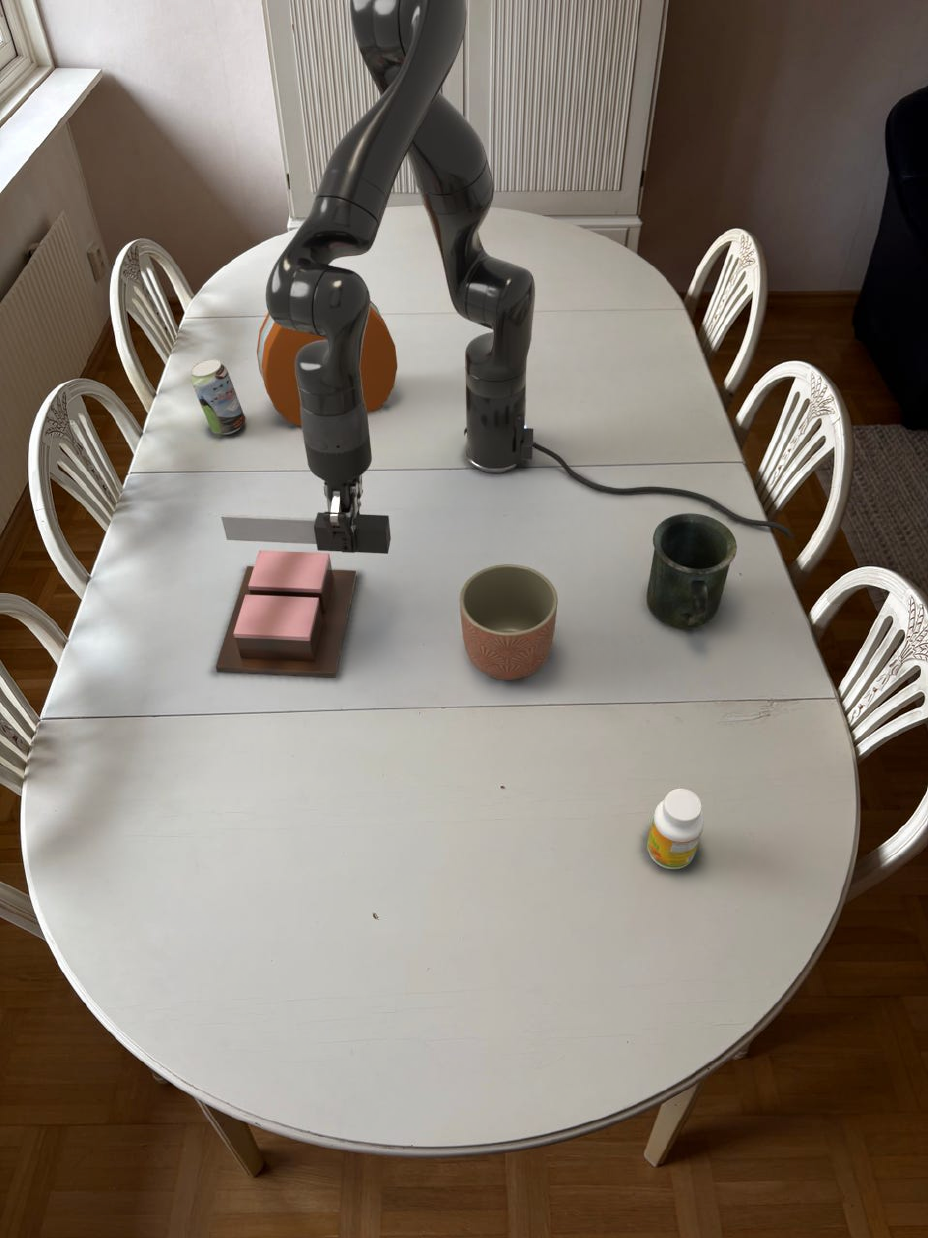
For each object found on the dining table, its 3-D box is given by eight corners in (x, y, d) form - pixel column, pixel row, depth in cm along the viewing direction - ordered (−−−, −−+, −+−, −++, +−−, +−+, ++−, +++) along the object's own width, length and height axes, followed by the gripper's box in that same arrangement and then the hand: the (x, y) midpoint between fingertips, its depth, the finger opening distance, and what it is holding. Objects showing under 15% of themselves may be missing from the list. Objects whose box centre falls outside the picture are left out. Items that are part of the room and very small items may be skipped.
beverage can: (239, 441, 166) (225, 379, 157) (198, 436, 167) (181, 375, 158) (252, 418, 170) (239, 357, 161) (211, 413, 171) (196, 353, 162)
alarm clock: (386, 374, 178) (375, 254, 161) (401, 405, 172) (392, 284, 155) (264, 399, 174) (240, 279, 157) (275, 432, 167) (251, 310, 151)
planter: (447, 636, 136) (444, 580, 128) (529, 608, 139) (531, 552, 131) (484, 702, 129) (483, 647, 120) (569, 671, 132) (575, 616, 124)
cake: (356, 575, 144) (352, 545, 140) (335, 677, 132) (329, 648, 127) (248, 570, 146) (240, 540, 141) (216, 671, 133) (207, 642, 128)
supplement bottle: (642, 830, 116) (652, 784, 108) (688, 826, 116) (701, 780, 109) (652, 872, 112) (663, 828, 105) (699, 868, 112) (714, 824, 105)
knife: (390, 538, 128) (388, 515, 125) (387, 553, 126) (385, 530, 123) (229, 531, 129) (224, 508, 126) (224, 546, 127) (218, 522, 124)
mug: (714, 574, 143) (729, 511, 134) (731, 652, 133) (749, 590, 125) (638, 575, 143) (648, 512, 134) (650, 652, 134) (662, 591, 125)
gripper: (359, 471, 109) (372, 582, 122) (377, 395, 118) (387, 506, 131) (291, 468, 109) (311, 579, 122) (314, 393, 119) (331, 503, 132)
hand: (350, 540), depth 127 cm, fingers closed on knife, 3 cm apart
